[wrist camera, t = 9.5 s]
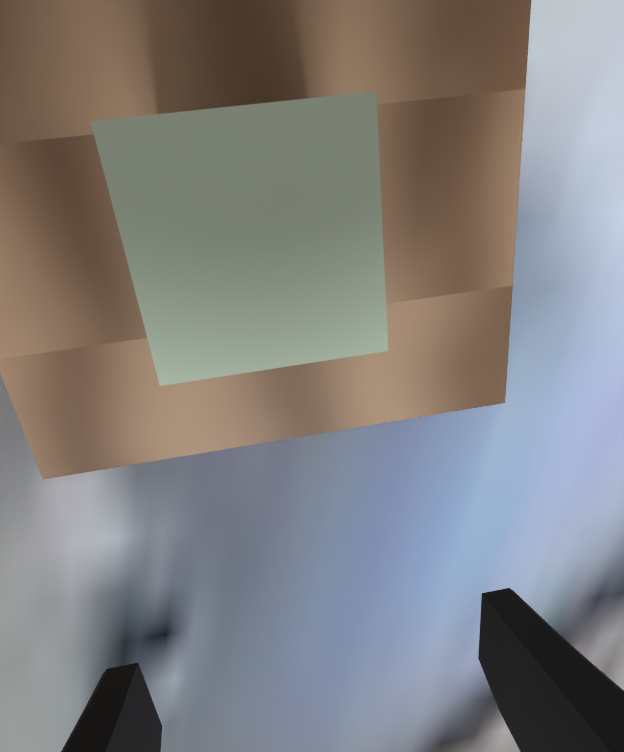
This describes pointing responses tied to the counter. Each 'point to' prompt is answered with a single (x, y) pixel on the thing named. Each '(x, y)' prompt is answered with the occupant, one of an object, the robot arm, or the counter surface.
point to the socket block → (234, 88)
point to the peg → (252, 232)
